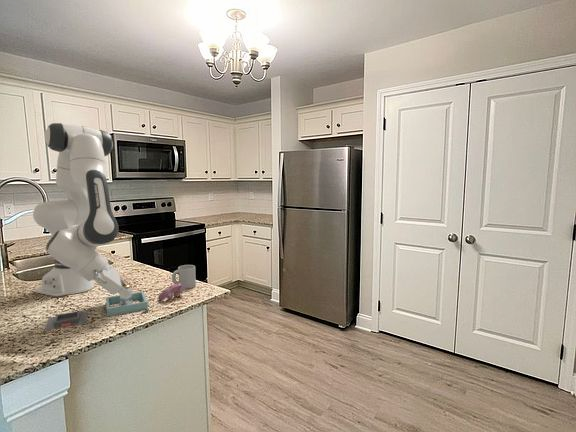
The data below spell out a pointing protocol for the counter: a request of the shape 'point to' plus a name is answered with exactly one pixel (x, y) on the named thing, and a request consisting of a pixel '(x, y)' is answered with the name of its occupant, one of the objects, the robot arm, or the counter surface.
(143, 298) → the bin
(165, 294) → the video game controller
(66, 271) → the robot arm
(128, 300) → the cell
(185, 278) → the cup
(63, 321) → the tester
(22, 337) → the counter surface
